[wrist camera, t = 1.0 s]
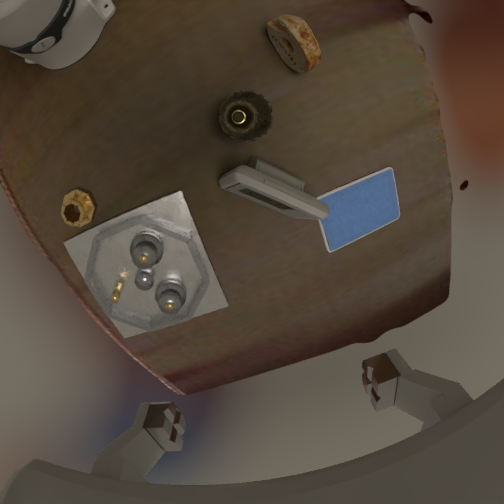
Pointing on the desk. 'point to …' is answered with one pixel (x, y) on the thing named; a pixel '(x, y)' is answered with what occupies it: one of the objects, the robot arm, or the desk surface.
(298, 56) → the stone disc
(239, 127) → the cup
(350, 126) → the desk surface
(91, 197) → the flanged octagonal bushing
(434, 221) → the desk surface
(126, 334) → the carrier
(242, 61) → the desk surface
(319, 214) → the digital clock
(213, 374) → the desk surface
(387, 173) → the tablet computer
